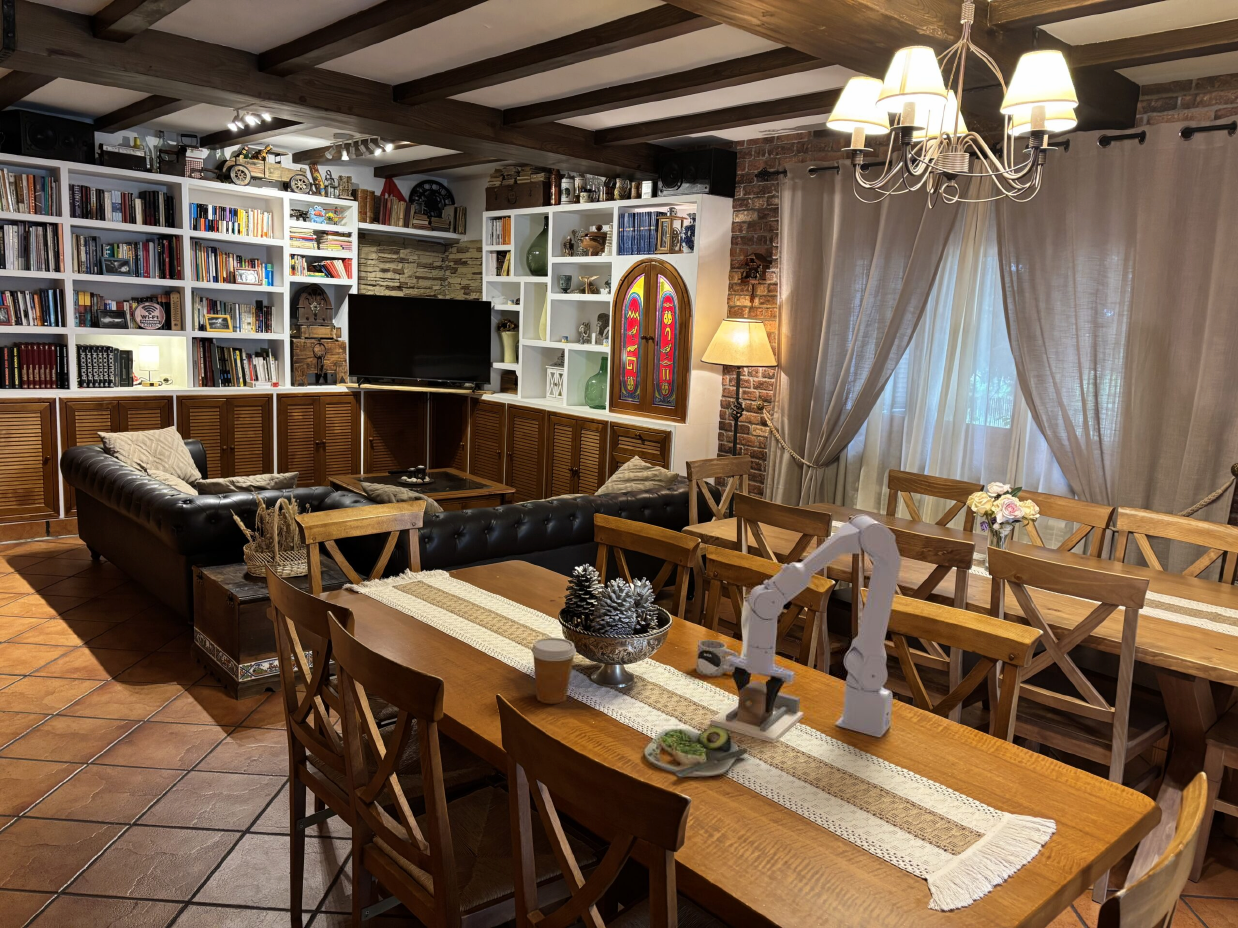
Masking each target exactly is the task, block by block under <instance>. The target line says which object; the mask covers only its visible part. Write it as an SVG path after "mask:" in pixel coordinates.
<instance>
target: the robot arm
mask: <svg viewBox="0 0 1238 928" xmlns="http://www.w3.org/2000/svg"><path fill="white" fill-rule="evenodd" d="M861 549H862V550H863V551H864V553H865V554H866V555H867V556H868V558H869V559H870V560H871V562H872V563H873V564H872V570H871V574H870V579H869V583H868V588H867V591H866V598H865V600H864V601H865V602H864V606H863V610H862V611H863V612H862V615H861V620H860V625H859V630H858V634H857V636H855V637H854V639H852V641H851V645H850V647H849V650H848V651H847V652H846V653H845V654H844V658H843V665H844V667H845V669H846V671H847V676H846V678H845V689H844V698H843V709H842V716H840V718H839V719H838V720H837V721H836V722H835V726H837V727H839V728H844V729H847V730H851V731H853V732H854V731H855V732H859V733H862V734H864V735H865V734H866V735H869V736H873V737H876V738H882V736H883V735H884V734H885V733H886V731H887V730H888V729H889V728H890V727H891V719H892V718H891V716H892V708H893V707H892V706H893V692H892V691H891V690H889V689H887V688H884V685H885V683H886V682H887V680H888V670H887V665H886V664H887V658H888V657H887V651H886V647H885V639H886V636H887V635H886V634H887V630H888V625H889V621H890V617H891V613H892V608H893V602H894V597H895V593H896V590H897V584H898V580H899V575H900V571H901V566H902V558H901V555H900V552H899V549H898V546H897V541H896V535H895V534H894V533H893V532H892V531H891V530H890V529H889V528H888V527H887V526H886V525H885V524H884V523H880V522H879V521H877V520H875V519H873V517H871V516H870V515H867V514H857V515H854V516H853V517H852V518H850V519H849V521H847V522H845V523H843V524H841V526H840V527H839V528H838V529H837V530H836V531H835V533H834V534H832V535H831V536H830V537H829V538H827V540H825V541H824V542H823V543H821V545H819V546H818V547H817V548H816V549H815V550H813V551H812V552H811V553H810V554H808V556H807V557H805V559H804V560H802V561H801V562H794V561H793V562H791V563H789V564H787V563H784V564H783V565H782V566H781V570H780V571H779V572H778V573H776V574H775V575H773V577H771V578H770V579H765V580H764V581H763V584H761V585H760V584H759V585H756V586H754V588H752V590H750V592H749V595H748V596H747V600H748V604H749V605H750V607H751V608H752V609H751V611H750V621H749V629H748V642H747V655H746V658H740V656H739V657H734V656H732V655H728V657H725V667H728V668H730V667H732V668H735V670H734V672H731V677H732V679H733V681H734V684H735V685H736V688H737V692H738V693H737V694H739V690H741V689H742V688H743V687H745V686H746V685H748V684H749V683H750V681H751V676H752V674H753V675H760V676H763V677H768V678H769V679H767V680H766V681H765V684H766V692H767V698H766V712H767V713H769V712H771V711H772V709H773V705H774V702H775V699H776V697H777V695H778V693H780V690H781V689H782V687H783V685H784V684H785V683H787V684H792V683H793V682H794V681H795V674H796V672H795V671H792V670H789V669H787V668H784V667H781V666H779V665H777V664H775V658H776V657H775V656H776V655H775V654H776V646H777V645H776V644H777V643H776V642H777V635H778V634H777V633H778V630H777V629H778V616H780V614H781V613H782V612H783V610H784V605H786V604H787V603H789V602H790V601H791V600H792V599H794V598H795V597H796V596H798V595H799V594H800V593H801V592H802V591H804V590H805V589H807V588H808V586H809V587H810V585H811V581H812V576H813V575H815V574H816V573H818V572H820V571H821V570H822V569H823V568H825V567H827V566H828V565H829V564H831V563H832V562H833V561H836V559H838V558H839V557H840V556H842V555H844V554H854V555H855V554H859V555H860V554H862V550H861Z"/></svg>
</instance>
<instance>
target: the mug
mask: <svg viewBox="0 0 1238 928" xmlns="http://www.w3.org/2000/svg"><path fill="white" fill-rule="evenodd" d="M696 653H697V654H696V664H695V665H696V666H695V667H696V670H695V671H696V673H698V674H699V675H702V676H707V677H720V676H723V675H724V674H725V672H726V673H727V672H729V673H730V672H731V673H733V672H734V670H735V668H732V667H730V668H728V667H725V662H726V655H727V656H733V657H739V658H740V656H739V653H737V652H736V651H733V650H731V649H727V644H726V643H724V642H723V641H719V640H715V639H714V640H713V639H702V640H700V641H698V643H697V652H696Z"/></svg>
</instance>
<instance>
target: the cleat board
mask: <svg viewBox="0 0 1238 928" xmlns="http://www.w3.org/2000/svg"><path fill="white" fill-rule="evenodd" d="M800 700H801V698H800V697H796V696H794V695H793V696H792V695H791V694H787V693H782V692H779V693H778V695H777V697H776V699H775V702H774V707H773V715H772V716H771V717H770V718H768V719H767V720H766V721H765V722H764V723H762V724H761V725H760V727H757V726H754V725H750V724H747V723H743V722H740V721H737V714H738V701H739V698H738V699H737V700H735V701H733V703H731V704H730V705H729V706H727V707H725V708H724V709H723V710H722V711H720V712H719V713H717V714H716V715H714V716H713V717H712V718H711V719H710V720H709V721H710V722H709V723H710V724H709V725H713V726H714V727H720V728H723V729H725V730H728V731H732V732H736V733H738V734H743V735H745V736H749V737H751V738H755V739H758V740H763V741H765V742H769V743H771V744H775V743H776V742H777V741H778V740H779V739H780V738H782V737H783V736H784V735H785V734H786V733H787V732H788V731H790V730H791V729H792V728H793V727H794V726H795V725H796V724H797V723H798V722H799V721H801V720H802V718H804V712H802V711H800V703H801V702H800Z"/></svg>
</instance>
